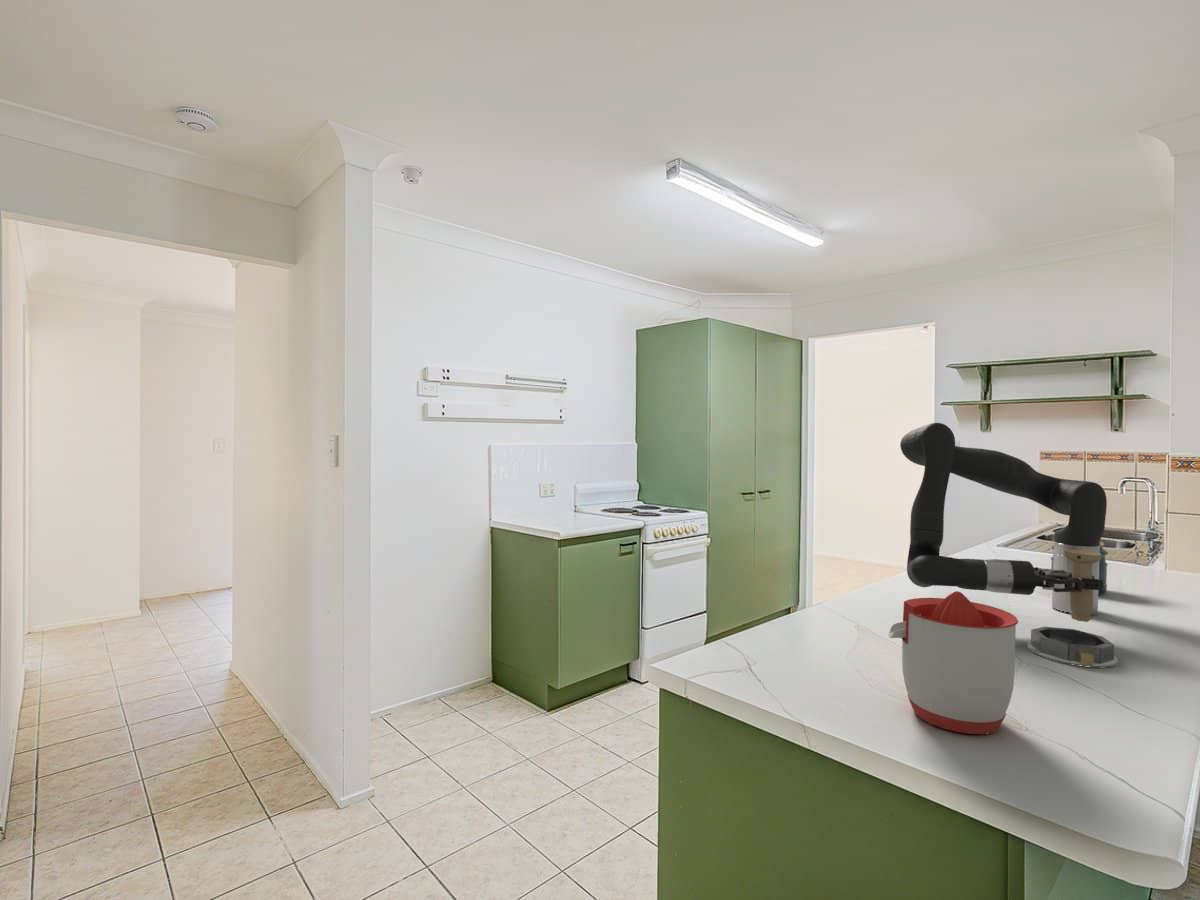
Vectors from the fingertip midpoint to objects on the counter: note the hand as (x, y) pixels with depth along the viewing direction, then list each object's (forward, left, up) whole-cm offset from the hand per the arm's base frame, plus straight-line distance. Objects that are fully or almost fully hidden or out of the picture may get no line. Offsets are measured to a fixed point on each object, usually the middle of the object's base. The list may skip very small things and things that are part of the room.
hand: (1097, 582), depth 133 cm
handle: (0, -3, -9) cm, 9 cm away
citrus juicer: (+53, -39, -13) cm, 67 cm away
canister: (-51, +15, -13) cm, 55 cm away
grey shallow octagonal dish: (+13, -9, -13) cm, 20 cm away
